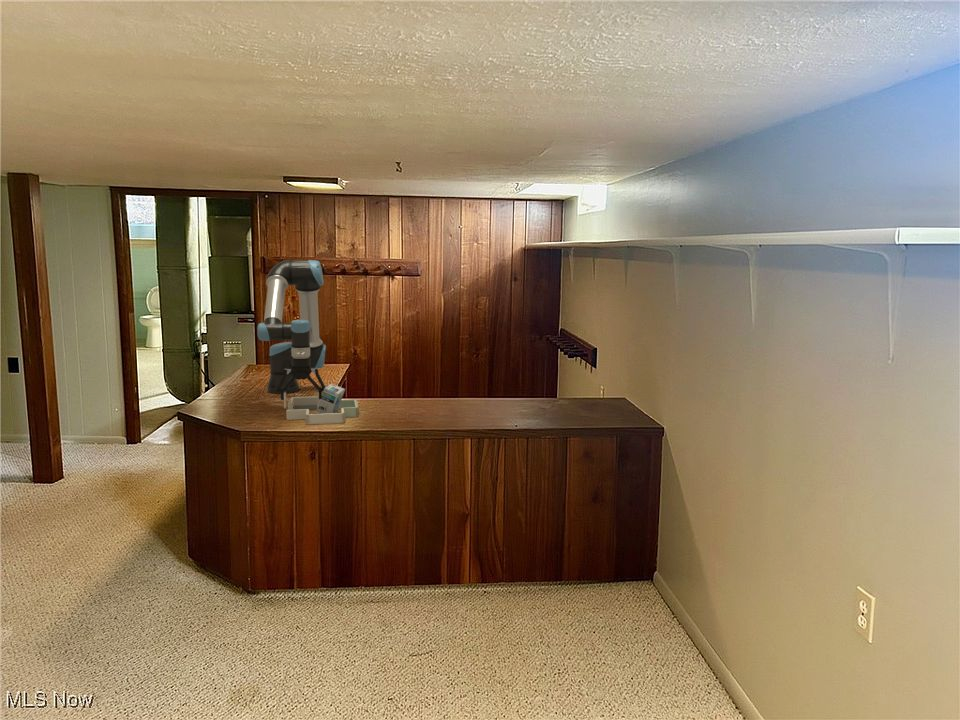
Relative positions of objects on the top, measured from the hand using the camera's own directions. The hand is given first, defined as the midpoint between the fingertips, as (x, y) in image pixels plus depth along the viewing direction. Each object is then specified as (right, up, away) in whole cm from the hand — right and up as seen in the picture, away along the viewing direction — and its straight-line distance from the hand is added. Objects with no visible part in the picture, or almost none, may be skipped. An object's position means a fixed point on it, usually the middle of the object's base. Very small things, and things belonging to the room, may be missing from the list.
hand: (301, 407), depth 304 cm
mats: (+6, -3, +3) cm, 7 cm away
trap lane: (+8, -3, +3) cm, 9 cm away
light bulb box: (+10, -2, +3) cm, 11 cm away
